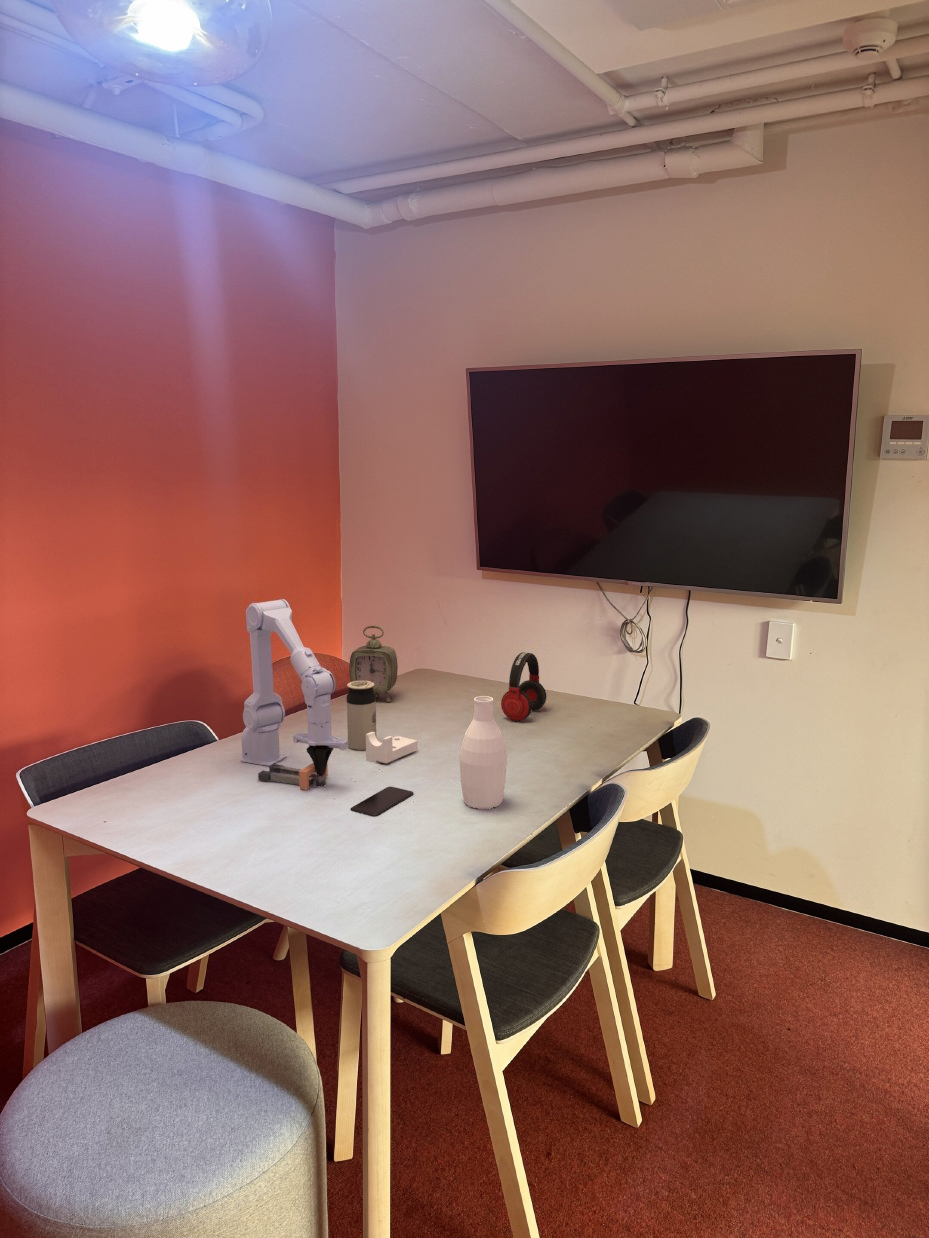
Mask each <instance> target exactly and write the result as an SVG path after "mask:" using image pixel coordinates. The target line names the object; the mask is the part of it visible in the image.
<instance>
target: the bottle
mask: <svg viewBox="0 0 929 1238" xmlns="http://www.w3.org/2000/svg"><path fill="white" fill-rule="evenodd" d="M473 702H474V705H473V707H474V708H473V709H474V710H473V719H472V720H471V722H470V724H469V726H468V727H467V729H466V731H465V734H464V735H463V736H464V737H463V740H462V743H461V745H460V746H461V748H460V753H459V774H460V777H459V778H460V785H461V790H462V798H463V799H462V800H463V801H464V803H465V805H466V806H467V805H468V806H467V807H469V806H470V807H469V808H471V807H473V808H472V809H474V808H478V809H477V810H483V809H486V810H490V809H489V808H492V809H494V808H493V807H496V806H498V805H499V806H500V805H501V804H502V803H503V799H504V793H505V788H506V786H505V785H506V782H507V781H506V778H507V777H506V776H507V762H508V761H507V760H508V755H507V748H506V742H505V739H504V737H503V733H502V732H501V730H500V728H499V725H498V724H497V723H496V720H495V718H494V704H493V703H494V698H493V697H492V696H487V695H480V696H476V697H474V698H473ZM499 806H498V807H499ZM496 808H497V807H496Z"/></svg>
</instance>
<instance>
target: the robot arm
mask: <svg viewBox="0 0 929 1238" xmlns="http://www.w3.org/2000/svg"><path fill="white" fill-rule="evenodd" d="M245 619H246V620H245V622H246V631H247V633H249V640H250V641H249V643H250V656H251V657H250V658H251V673H252V688H253V692H252V694H250V696H249V697H247V698H246V700H245V701H244V703H243V705H244V708H243V713H242V720H243V723H244V725H245V728H244V729H243V731H242V734H241V753H242V754H241V757H242V758H241V759H240V761H241V762H244V763H249V764H255V765H261V766H267V767H270V766H271V765H273V764H277V763H278V762H280V761H281V760H284V759H285V758H287V755H286V754H282V753H281V752H280V750H281V749H280V733H279V732H280V730H279V728H281V727H282V723H283V722H284V721H285V717H286V710H285V707H284V705H283V697H281V696H280V695H279V694H278V693H276V692H275V691H274V676H273V675H274V673H273V672H274V671H273V657H272V655H273V654H272V641H271V640H272V639H271V635H272V634H273V632H274V633H276V635H278V637H279V639H280V640H281V641H282V644H284V646H285V647H286V648H287V650H288V651H289V653H290V654H291V655H290V658H289V659H290V660H289V661H290V663H291V665H292V666H293V668H294V670H295V671H296V673H297V676H299V678H300V680H301V684H300V688H301V691H302V694H303V697H304V702H305V704H306V708H307V709H306V711H307V712H306V713H307V714H306V716H307V717H306V718H307V733H302V732H299V733H298V732H297V733H294V734H293V735H292V742H293V743H295V744H297V743H300V744H306V745H308V747H306V752H307V754H308V755H309V757H310V759H311V761H312V763H314V766H315V769H316V773H317V774H318V775H322V774H324V773H325V772H326V767H327V765H328V763H329V759H330V756H331V755H332V752H333V750H334V749H338V750H340V751H346V750H347V749H348V748H349V747H348V740H346V739H342V738H339V737H336V736H333V734H332V733H333V732H332V702H331V700H332V699H331V697H332V696H331V694H332V693H334V692H335V689H336V680H335V677H334V675H333V673H332V672H331V671H330V670H327V669H326V667H322V665H321V664H320V663H319V660H318V659H317V658H316V656H315V654H314V652H313V651H312V649H311V648H309V647H305V646H304V644H303V642H302V640H301V638H300V636H299V633H298V631H297V630H296V628H295V626H294V623H293V621H292V619H293V609H291V606H290V604H289V602H288V601H287V600H286V599H283V598H280V599H277V600H269V601H262V602H252V603H250V604H249V606H248V607H247V608H246V609H245Z"/></svg>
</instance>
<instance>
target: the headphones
mask: <svg viewBox="0 0 929 1238" xmlns="http://www.w3.org/2000/svg"><path fill="white" fill-rule="evenodd" d="M526 664H527V669H528V673H529V674H528V676H529V677H528V678H529V679H528V680H523V682H521V678H522V674H523V671H524V668H525V666H526ZM539 667H540V666H539V662H538V658H537V657H536V655H535V654H534V653H531V652H524V651H523V652H520V653H519V654H517V656H516V657H515V658H514V660H513V662H512V666H511V668H510V673H509V677H508V678H509V680H508V691H506V692H505V693H504V694H503V696H502V697H501V699H500V701H501V702H500V707H501V710H502V713H503V714H504V715H505V717H507V718H508V719H509V720H511V721H514V720H515V722H521V721H524V720H526V719H527V718H528V717H529V716H530V715H531V714H532V713H531V712H532V711H531V710H535V711H538V710H540V709H541V708H542V707H544V705H545V704H546V701H547V691H546V689H545V687H544V686H543V685H542V683H540V668H539Z"/></svg>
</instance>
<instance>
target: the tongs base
mask: <svg viewBox="0 0 929 1238" xmlns="http://www.w3.org/2000/svg"><path fill="white" fill-rule="evenodd" d="M302 769H303V768H302ZM302 769H301V768H295V767H290V766H289V767H288V766H285V765H283V764H277V763H274V764H273V765H271V766H268V770H269V771H270V772H275V773H282V774H290V775H297V776H299V771H300V770H302ZM309 777H311V778H313V780H314V783H315V786H316V787H320V788H321V787H325V786H326V785H327V779H326V778H327V777H326V774H325V773H324V774H322V775H318V774H317V773H316V772H315V773H314V774H312V775H311V776H309Z"/></svg>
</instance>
